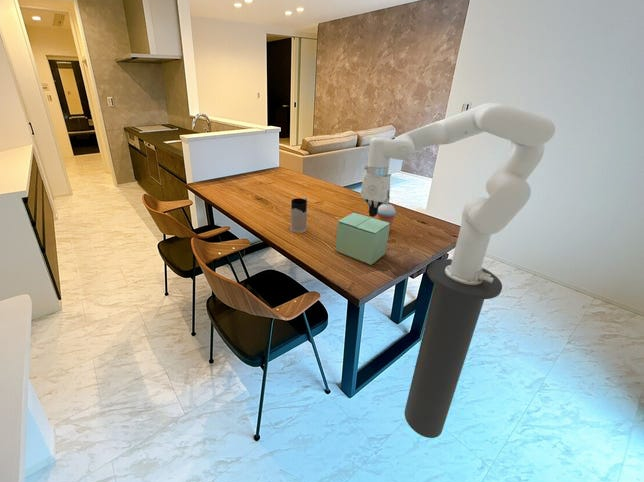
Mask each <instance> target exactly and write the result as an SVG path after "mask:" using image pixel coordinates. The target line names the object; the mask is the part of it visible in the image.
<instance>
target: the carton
mask: <svg viewBox="0 0 644 482" xmlns="http://www.w3.org/2000/svg"><path fill="white" fill-rule="evenodd" d="M370 218H372V216H367V215H364V214H360V213H358V212H357V213H356V212H352V213H350V214H348V215H346V216H345V217H343V218H341V219H338V220H337V226H336V239H335V252H338V253H340V254H343V255H345V256H348V257H349V258H353V259H355V260H357V261H360V262H362V263H365V264H367V265H370V266H372V265H373V264H374V263H376V262H377V261H378V260H379V259H381V258H382V257H383V256H385V254H387V253H386V252H387V248H388V247H387V246H388V241H389V234H390V231H389V229H390V230H391V228H390V225H388V226H386V227H385V228H383V229H382V230H380V231H379V232H377V233H376V234H373V233H370V232H367V231H365V230H362V229H359V228H356V226H358V225H360V224H362V223H363V222H365V221H367V220H368V219H370Z"/></svg>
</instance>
